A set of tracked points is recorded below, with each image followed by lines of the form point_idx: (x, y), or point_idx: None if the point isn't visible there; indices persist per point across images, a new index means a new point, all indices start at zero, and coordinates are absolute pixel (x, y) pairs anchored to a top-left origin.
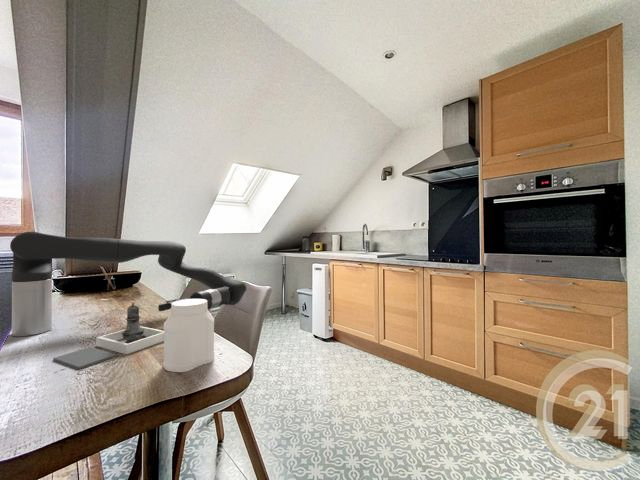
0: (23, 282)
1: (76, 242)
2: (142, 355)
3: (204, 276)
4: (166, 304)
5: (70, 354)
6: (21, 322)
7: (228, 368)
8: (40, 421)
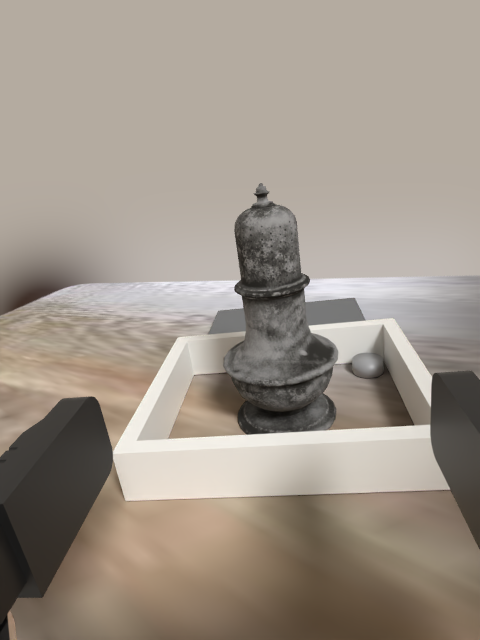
0: None
1: None
2: (116, 385)
3: None
4: (475, 447)
5: (344, 311)
6: None
7: None
8: (103, 292)
